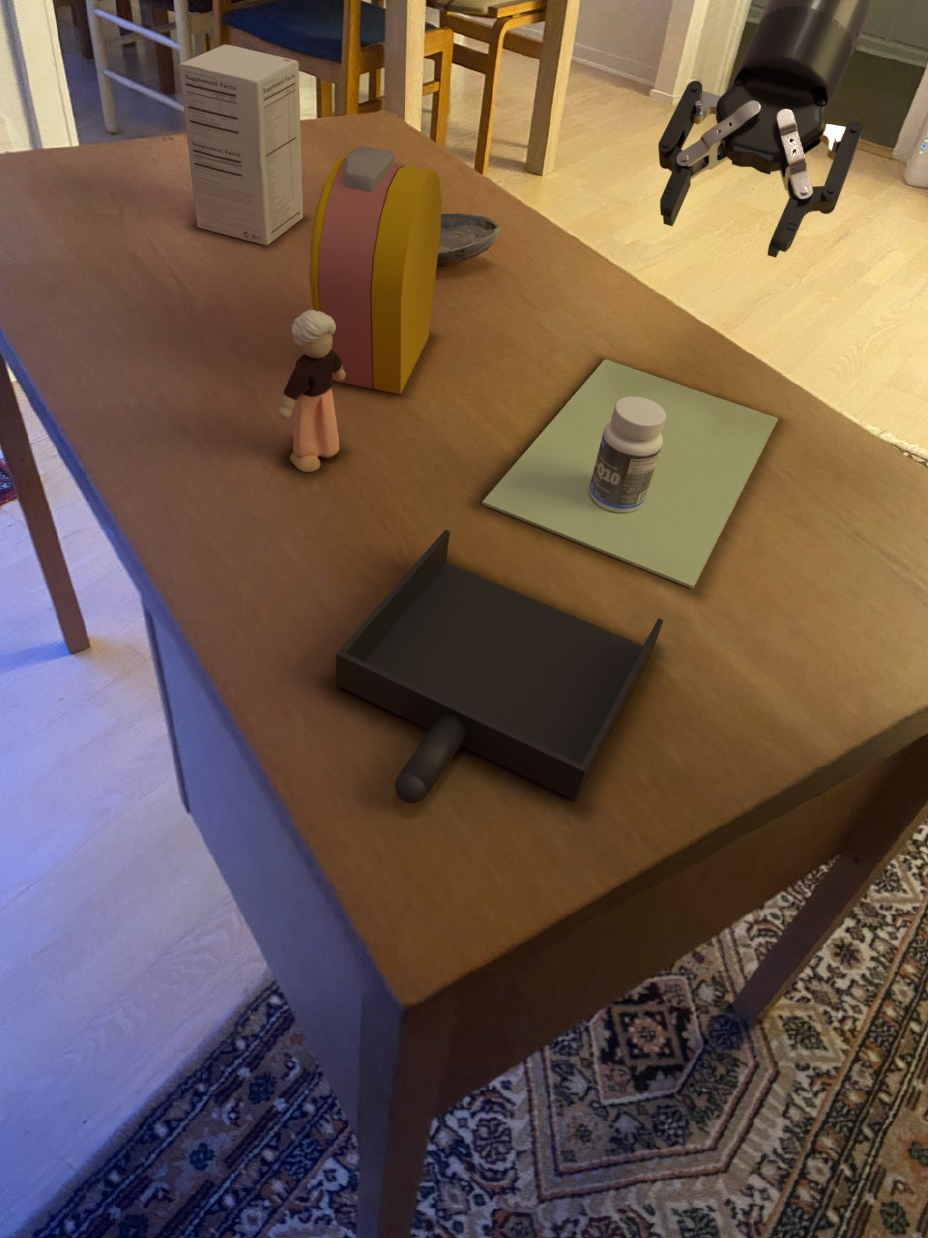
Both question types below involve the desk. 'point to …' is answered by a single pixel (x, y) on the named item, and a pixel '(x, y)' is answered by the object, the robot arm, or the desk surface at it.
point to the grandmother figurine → (313, 391)
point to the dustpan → (490, 676)
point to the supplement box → (244, 141)
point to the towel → (679, 489)
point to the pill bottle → (628, 455)
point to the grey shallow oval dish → (465, 237)
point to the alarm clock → (376, 264)
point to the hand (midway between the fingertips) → (719, 236)
